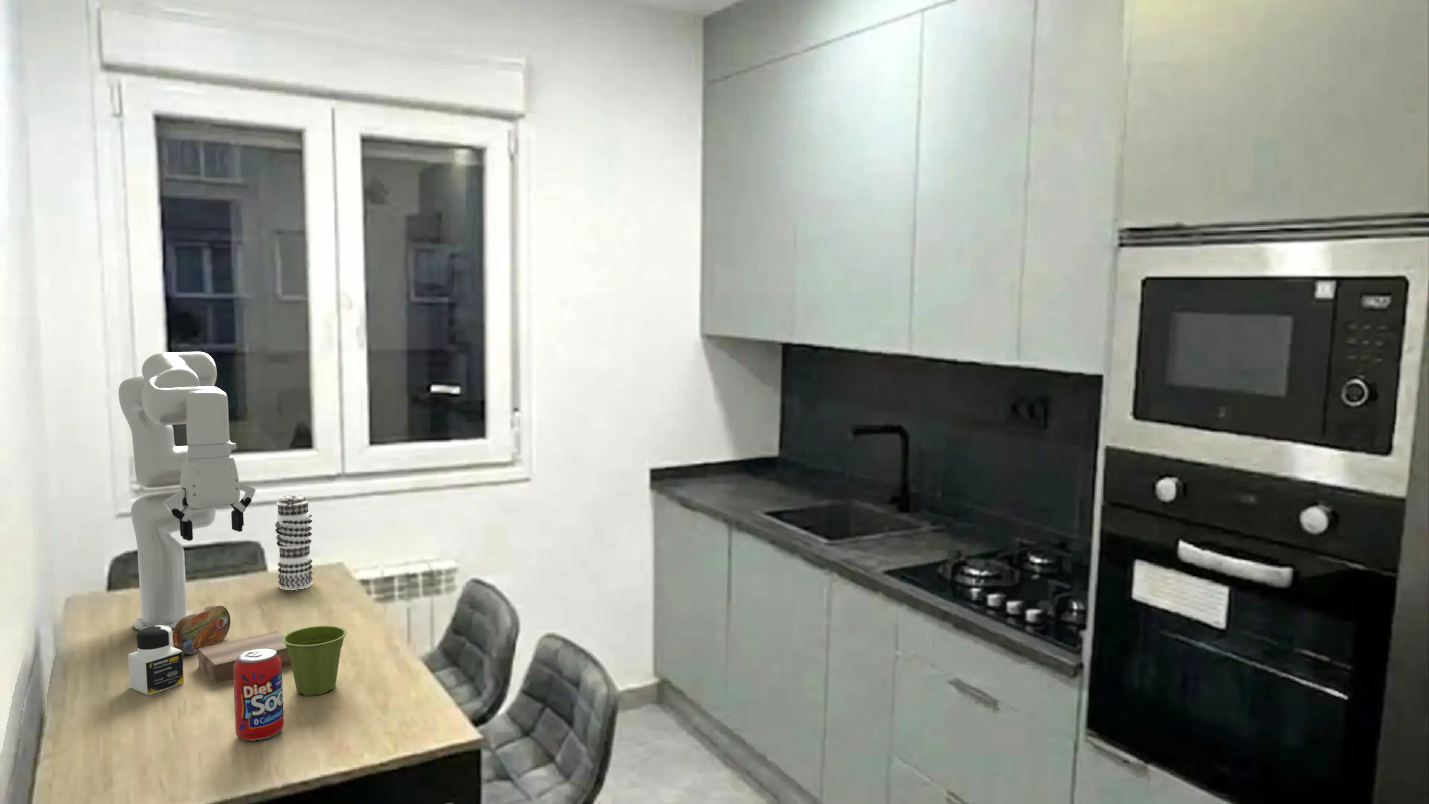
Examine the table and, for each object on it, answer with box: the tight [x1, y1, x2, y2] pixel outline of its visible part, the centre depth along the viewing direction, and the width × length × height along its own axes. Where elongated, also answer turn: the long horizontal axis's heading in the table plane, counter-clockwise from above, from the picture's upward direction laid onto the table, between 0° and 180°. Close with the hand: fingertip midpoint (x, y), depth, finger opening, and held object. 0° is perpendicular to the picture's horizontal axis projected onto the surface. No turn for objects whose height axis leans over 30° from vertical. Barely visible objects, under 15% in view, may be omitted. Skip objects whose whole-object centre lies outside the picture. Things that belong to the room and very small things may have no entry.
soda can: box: [232, 648, 285, 742], centre depth 166 cm, size 8×8×15 cm
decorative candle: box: [274, 494, 314, 591], centre depth 252 cm, size 9×9×25 cm
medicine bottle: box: [127, 625, 185, 696], centre depth 186 cm, size 7×7×12 cm
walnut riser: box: [197, 630, 292, 685], centre depth 198 cm, size 12×16×4 cm
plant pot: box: [282, 625, 348, 697], centre depth 186 cm, size 12×12×11 cm
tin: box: [172, 605, 231, 656], centre depth 207 cm, size 15×3×8 cm, turn 168°
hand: (212, 535), depth 187 cm, fingers open, 9 cm apart
